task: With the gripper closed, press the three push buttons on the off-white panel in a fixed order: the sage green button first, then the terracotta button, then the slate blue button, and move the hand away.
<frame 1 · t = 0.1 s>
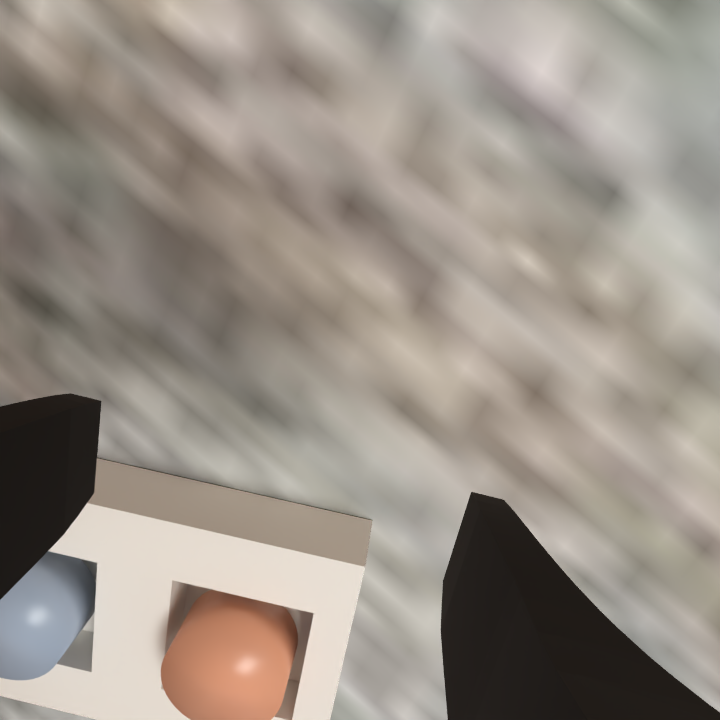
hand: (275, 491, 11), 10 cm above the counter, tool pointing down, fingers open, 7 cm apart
button panel: (70, 557, 25), on the counter
terracotta button: (232, 657, 22), point 3 cm above the counter, slide at 0.0 cm
blue button: (24, 607, 22), point 3 cm above the counter, slide at 0.0 cm
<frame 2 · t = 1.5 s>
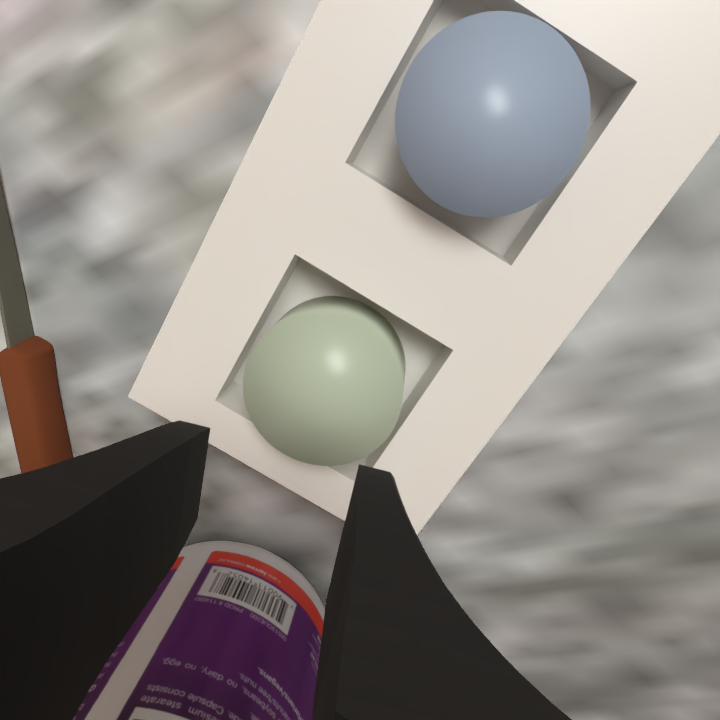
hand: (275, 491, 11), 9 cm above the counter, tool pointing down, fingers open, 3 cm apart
button panel: (476, 130, 18), on the counter
green button: (328, 378, 17), point 3 cm above the counter, slide at 0.0 cm
blue button: (485, 123, 15), point 3 cm above the counter, slide at 0.0 cm
kitchen knife: (51, 360, 22), on the counter
pill bottle: (239, 609, 24), on the counter
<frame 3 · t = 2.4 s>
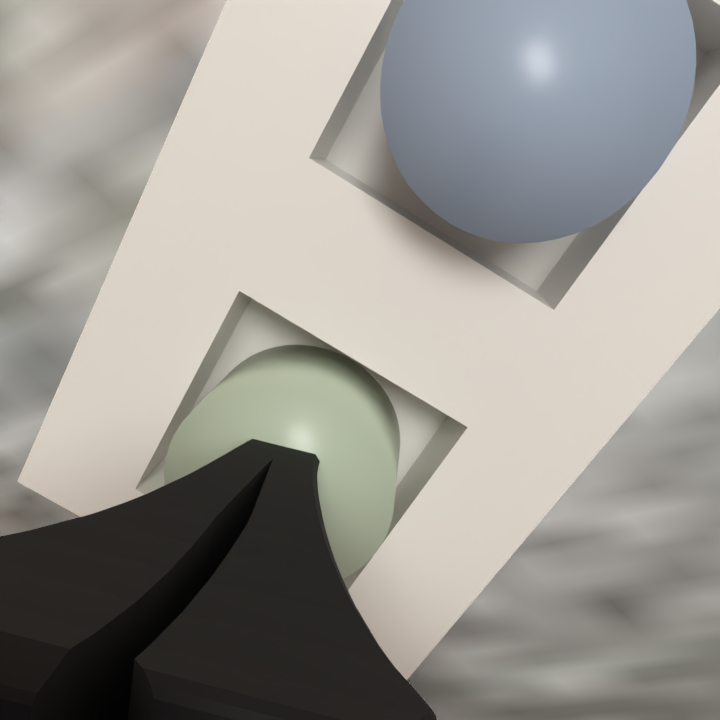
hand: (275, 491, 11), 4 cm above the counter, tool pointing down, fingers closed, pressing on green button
button panel: (499, 113, 12), on the counter
green button: (291, 463, 12), point 3 cm above the counter, slide at 0.1 cm, touching gripper
blue button: (520, 97, 10), point 3 cm above the counter, slide at 0.0 cm
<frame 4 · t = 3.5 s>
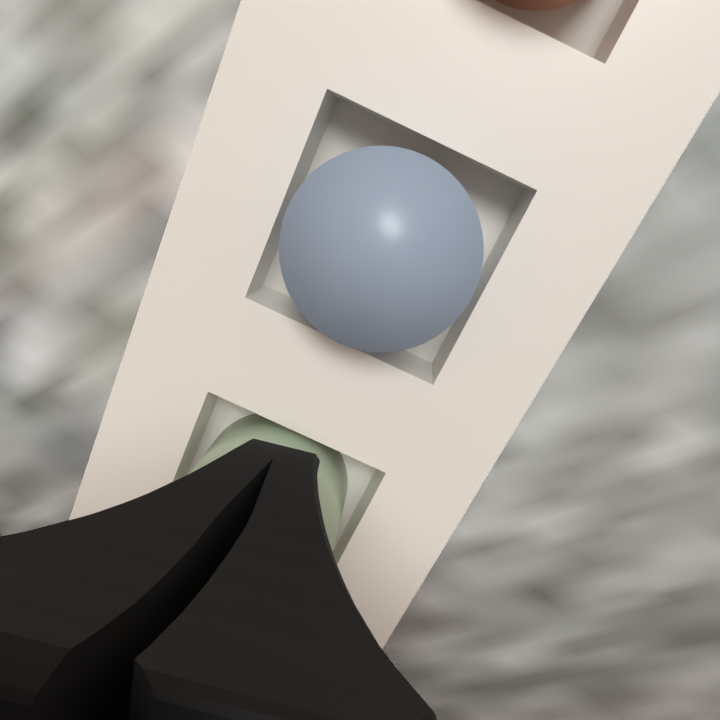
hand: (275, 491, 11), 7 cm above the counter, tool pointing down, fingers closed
button panel: (389, 234, 17), on the counter
green button: (267, 498, 17), point 2 cm above the counter, slide at 0.7 cm
blue button: (383, 247, 14), point 3 cm above the counter, slide at 0.0 cm
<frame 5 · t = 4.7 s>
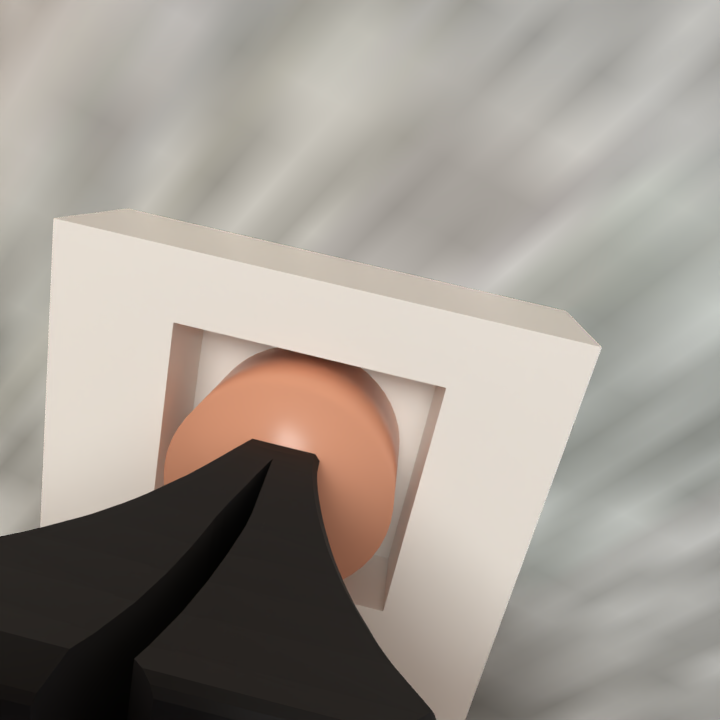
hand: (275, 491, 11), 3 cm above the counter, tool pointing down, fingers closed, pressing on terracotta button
button panel: (260, 667, 17), on the counter
terracotta button: (290, 463, 12), point 2 cm above the counter, slide at 0.7 cm, touching gripper
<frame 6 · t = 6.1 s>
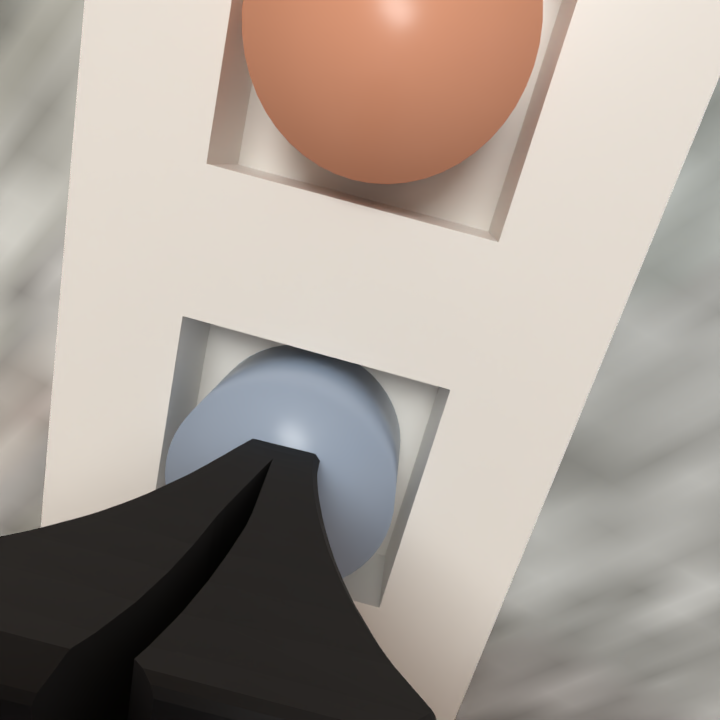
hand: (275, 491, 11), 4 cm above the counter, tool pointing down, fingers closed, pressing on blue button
button panel: (313, 416, 15), on the counter
terracotta button: (392, 43, 10), point 2 cm above the counter, slide at 0.7 cm
blue button: (291, 462, 12), point 2 cm above the counter, slide at 0.6 cm, touching gripper
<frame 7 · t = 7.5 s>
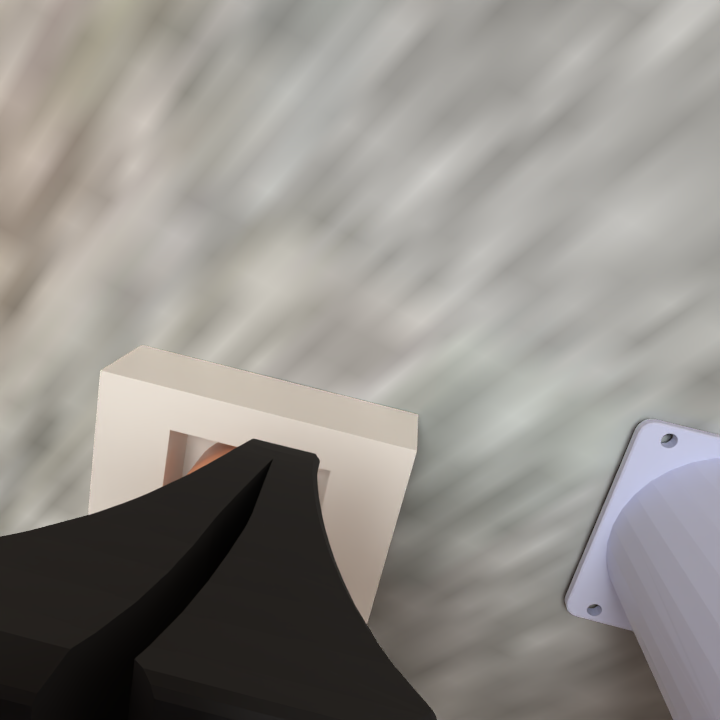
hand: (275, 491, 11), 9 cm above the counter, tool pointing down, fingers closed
button panel: (228, 642, 25), on the counter
terracotta button: (241, 511, 20), point 2 cm above the counter, slide at 0.7 cm
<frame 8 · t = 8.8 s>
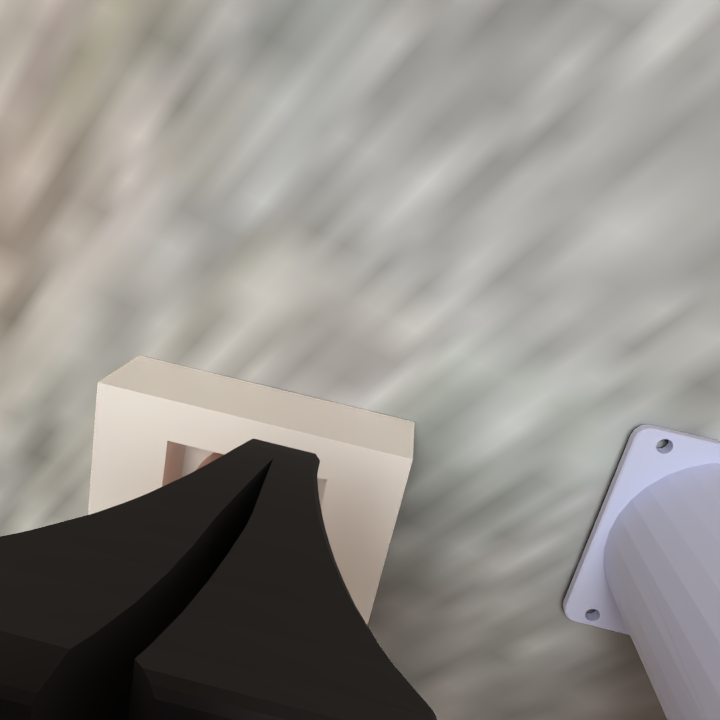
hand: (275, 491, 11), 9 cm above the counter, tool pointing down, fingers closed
button panel: (228, 650, 25), on the counter
terracotta button: (240, 520, 20), point 2 cm above the counter, slide at 0.7 cm
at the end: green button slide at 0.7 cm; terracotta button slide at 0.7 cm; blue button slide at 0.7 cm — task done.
